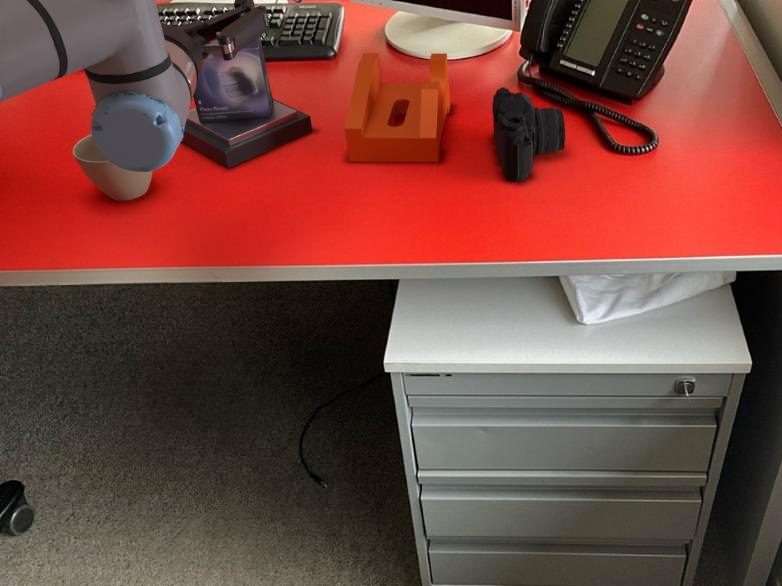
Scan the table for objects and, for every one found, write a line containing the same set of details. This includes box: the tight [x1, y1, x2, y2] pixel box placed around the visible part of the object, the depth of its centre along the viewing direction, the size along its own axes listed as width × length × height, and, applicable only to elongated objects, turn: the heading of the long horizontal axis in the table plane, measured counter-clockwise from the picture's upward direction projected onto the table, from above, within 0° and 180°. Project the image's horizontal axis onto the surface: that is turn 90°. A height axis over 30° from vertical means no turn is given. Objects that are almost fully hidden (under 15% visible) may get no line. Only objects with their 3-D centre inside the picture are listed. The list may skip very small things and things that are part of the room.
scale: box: [181, 98, 314, 169], centre depth 133 cm, size 15×15×4 cm
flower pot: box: [72, 133, 154, 202], centre depth 119 cm, size 10×10×7 cm
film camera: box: [491, 86, 566, 182], centre depth 124 cm, size 15×10×9 cm, turn 7°
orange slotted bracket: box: [344, 52, 451, 163], centre depth 130 cm, size 18×13×8 cm
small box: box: [193, 35, 274, 122], centre depth 128 cm, size 11×6×10 cm, turn 99°
